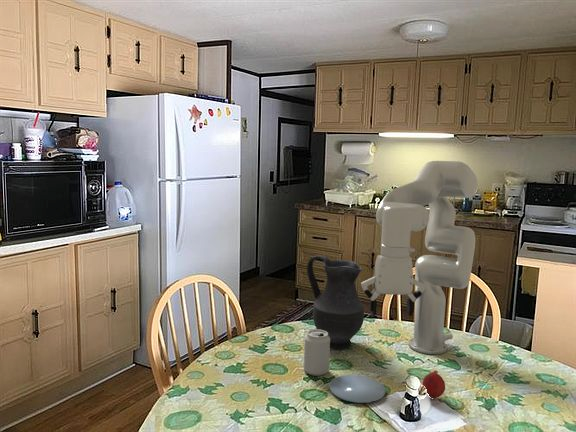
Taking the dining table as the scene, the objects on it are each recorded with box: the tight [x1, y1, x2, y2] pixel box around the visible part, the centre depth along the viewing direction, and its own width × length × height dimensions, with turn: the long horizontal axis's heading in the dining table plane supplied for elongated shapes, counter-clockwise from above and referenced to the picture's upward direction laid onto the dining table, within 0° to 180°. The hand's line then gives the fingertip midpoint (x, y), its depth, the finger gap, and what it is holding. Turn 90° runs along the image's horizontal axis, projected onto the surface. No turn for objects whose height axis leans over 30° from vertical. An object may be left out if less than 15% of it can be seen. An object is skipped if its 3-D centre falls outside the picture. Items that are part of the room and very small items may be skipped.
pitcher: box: [306, 254, 365, 351], centre depth 162 cm, size 17×21×30 cm
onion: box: [421, 369, 446, 400], centre depth 127 cm, size 6×6×8 cm
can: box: [303, 328, 331, 377], centre depth 141 cm, size 8×8×12 cm
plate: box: [329, 374, 386, 404], centre depth 131 cm, size 15×15×1 cm
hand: (391, 314), depth 130 cm, fingers open, 9 cm apart
